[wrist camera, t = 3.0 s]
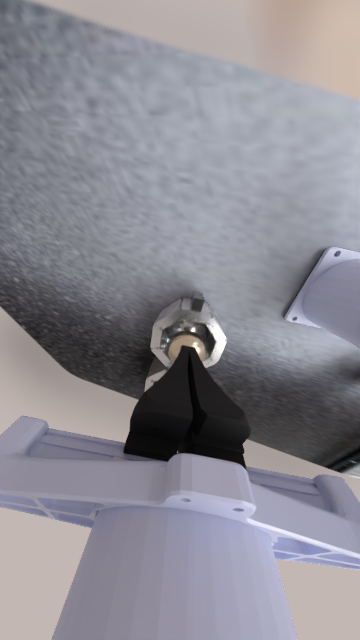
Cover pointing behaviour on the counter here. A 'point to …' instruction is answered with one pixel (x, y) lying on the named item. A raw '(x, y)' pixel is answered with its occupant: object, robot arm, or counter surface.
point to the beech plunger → (187, 337)
